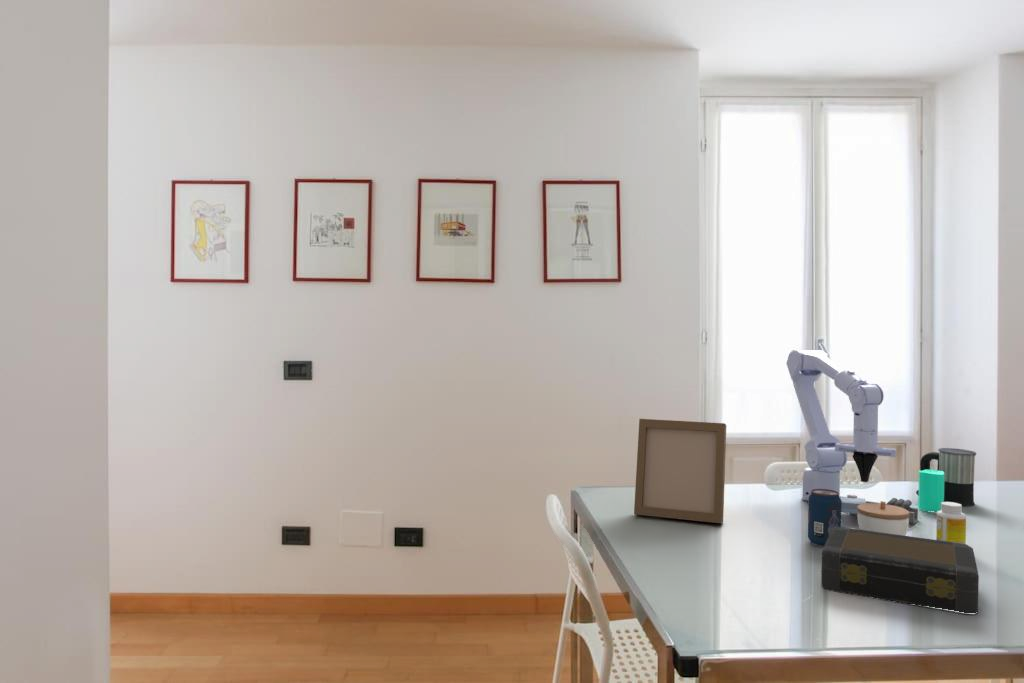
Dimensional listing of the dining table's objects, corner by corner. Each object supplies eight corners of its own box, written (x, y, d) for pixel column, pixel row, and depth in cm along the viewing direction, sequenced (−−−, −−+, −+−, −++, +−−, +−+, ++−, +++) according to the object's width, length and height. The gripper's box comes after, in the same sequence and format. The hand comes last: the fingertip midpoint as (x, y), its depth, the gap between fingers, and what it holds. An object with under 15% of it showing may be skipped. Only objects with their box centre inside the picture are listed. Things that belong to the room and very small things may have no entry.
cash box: (972, 582, 138) (972, 543, 138) (978, 619, 121) (979, 574, 121) (832, 560, 151) (832, 524, 151) (819, 590, 134) (820, 549, 133)
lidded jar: (906, 539, 166) (907, 499, 165) (910, 552, 156) (911, 509, 156) (855, 533, 170) (856, 494, 170) (856, 545, 160) (857, 504, 160)
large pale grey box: (845, 514, 188) (845, 502, 187) (851, 509, 192) (851, 498, 192) (913, 524, 178) (913, 513, 178) (917, 519, 182) (918, 508, 182)
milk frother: (975, 501, 203) (976, 449, 202) (976, 513, 189) (977, 458, 189) (918, 494, 210) (918, 445, 210) (914, 506, 197) (915, 452, 197)
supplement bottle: (971, 551, 157) (971, 505, 157) (955, 554, 154) (956, 508, 154) (946, 544, 162) (946, 499, 162) (930, 547, 159) (931, 502, 159)
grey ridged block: (883, 510, 180) (883, 504, 180) (891, 503, 187) (891, 497, 187) (905, 513, 177) (905, 507, 177) (911, 506, 184) (911, 500, 184)
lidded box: (839, 498, 192) (839, 488, 191) (864, 500, 189) (864, 491, 189) (841, 512, 177) (841, 502, 177) (868, 514, 174) (868, 504, 174)
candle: (937, 507, 195) (937, 464, 195) (948, 513, 189) (949, 468, 189) (914, 506, 196) (914, 463, 196) (924, 512, 190) (925, 467, 190)
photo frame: (721, 527, 175) (722, 426, 174) (633, 517, 183) (634, 421, 182) (727, 512, 188) (728, 419, 188) (645, 504, 196) (646, 414, 196)
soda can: (815, 537, 166) (815, 486, 166) (845, 544, 161) (846, 491, 161) (802, 543, 162) (803, 491, 161) (833, 550, 157) (834, 496, 156)
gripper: (832, 429, 188) (831, 479, 189) (893, 434, 179) (892, 487, 180) (839, 426, 194) (838, 475, 194) (898, 431, 185) (897, 483, 185)
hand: (864, 481), depth 187 cm, fingers closed
